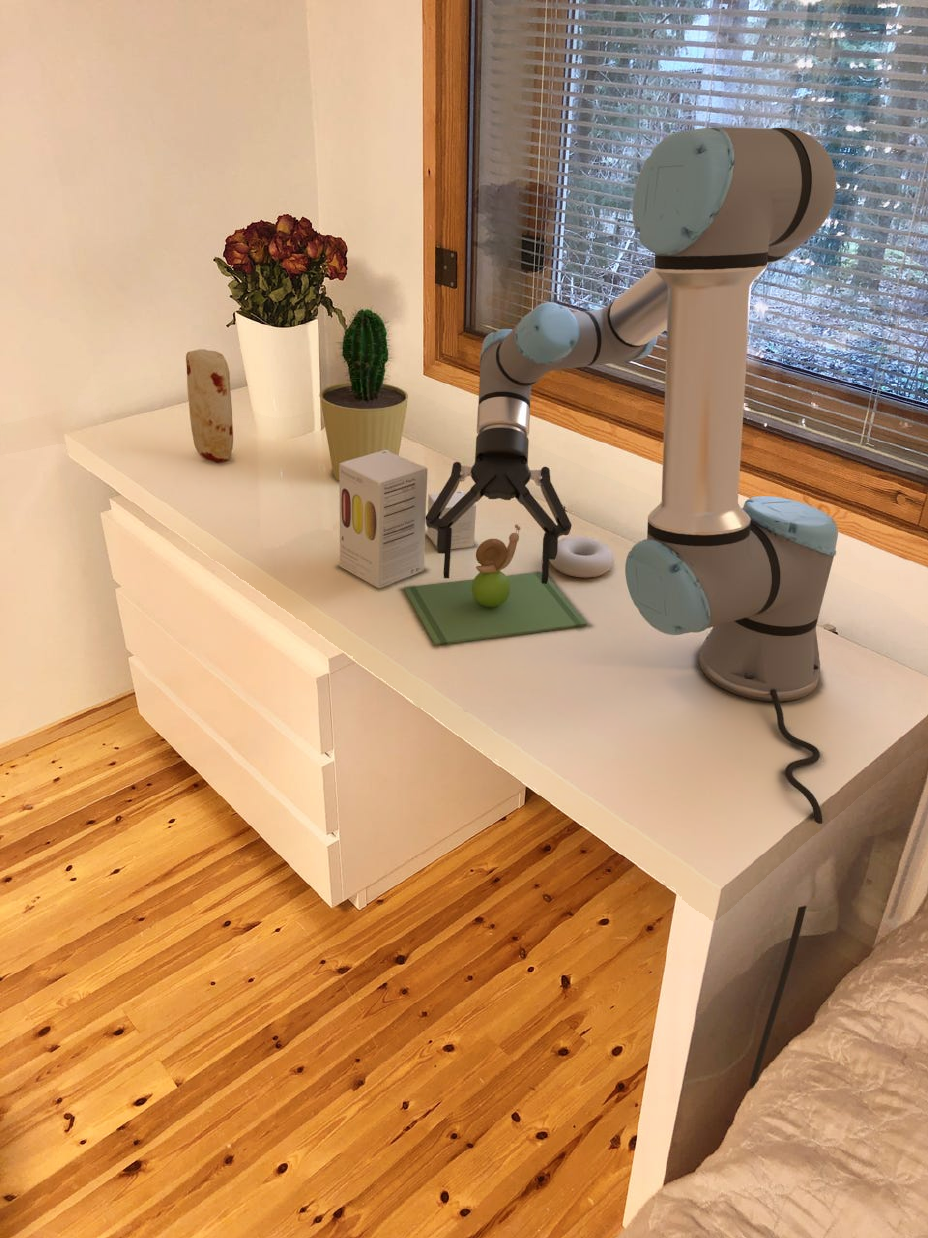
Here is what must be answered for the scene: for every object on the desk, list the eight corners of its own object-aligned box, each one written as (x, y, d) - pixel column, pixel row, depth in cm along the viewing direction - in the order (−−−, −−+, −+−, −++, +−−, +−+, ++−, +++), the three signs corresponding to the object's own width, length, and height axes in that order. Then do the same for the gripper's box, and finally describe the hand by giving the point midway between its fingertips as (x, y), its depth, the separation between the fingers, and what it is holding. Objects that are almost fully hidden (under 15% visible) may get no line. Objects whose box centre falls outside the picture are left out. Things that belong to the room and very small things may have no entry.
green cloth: (586, 625, 145) (586, 623, 145) (435, 645, 139) (435, 643, 139) (543, 573, 158) (543, 571, 158) (403, 589, 152) (403, 587, 152)
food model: (184, 455, 193) (173, 348, 183) (212, 446, 197) (204, 341, 187) (218, 470, 188) (209, 360, 177) (247, 460, 192) (240, 352, 182)
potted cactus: (328, 455, 196) (324, 292, 181) (410, 460, 196) (413, 297, 181) (314, 488, 182) (309, 314, 167) (402, 493, 182) (405, 320, 167)
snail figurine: (521, 610, 147) (527, 533, 141) (479, 616, 145) (484, 539, 139) (506, 592, 152) (511, 517, 146) (465, 598, 149) (469, 522, 143)
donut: (544, 577, 157) (610, 585, 156) (545, 557, 156) (612, 564, 154) (552, 549, 166) (615, 556, 164) (554, 529, 164) (617, 536, 163)
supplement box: (337, 567, 157) (336, 461, 149) (383, 549, 163) (384, 447, 154) (379, 590, 151) (380, 482, 143) (426, 571, 157) (429, 466, 149)
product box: (426, 535, 168) (427, 493, 164) (461, 530, 170) (463, 489, 166) (438, 551, 163) (440, 508, 159) (474, 546, 165) (477, 504, 161)
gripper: (586, 451, 152) (582, 590, 147) (416, 442, 153) (406, 581, 147) (593, 429, 145) (589, 574, 140) (414, 419, 145) (403, 564, 140)
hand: (495, 578), depth 143 cm, fingers open, 13 cm apart
